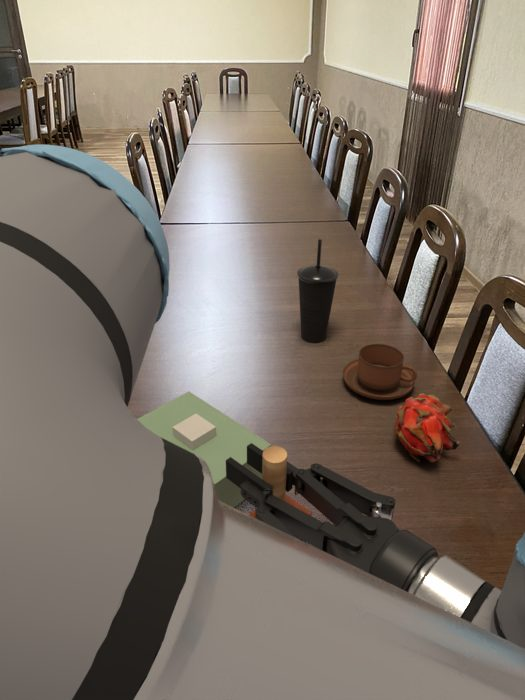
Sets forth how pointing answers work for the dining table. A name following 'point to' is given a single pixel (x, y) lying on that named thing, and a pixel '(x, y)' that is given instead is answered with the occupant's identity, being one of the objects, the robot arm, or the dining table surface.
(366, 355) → the cup and saucer
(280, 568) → the robot arm
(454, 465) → the dining table surface
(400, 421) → the dragon fruit
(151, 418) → the cabinet
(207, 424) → the beige square tile
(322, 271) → the drinking cup
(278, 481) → the wooden peg on base
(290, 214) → the dining table surface
